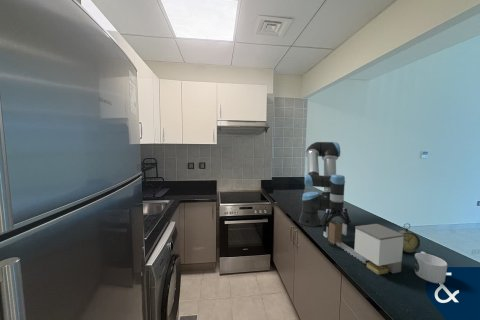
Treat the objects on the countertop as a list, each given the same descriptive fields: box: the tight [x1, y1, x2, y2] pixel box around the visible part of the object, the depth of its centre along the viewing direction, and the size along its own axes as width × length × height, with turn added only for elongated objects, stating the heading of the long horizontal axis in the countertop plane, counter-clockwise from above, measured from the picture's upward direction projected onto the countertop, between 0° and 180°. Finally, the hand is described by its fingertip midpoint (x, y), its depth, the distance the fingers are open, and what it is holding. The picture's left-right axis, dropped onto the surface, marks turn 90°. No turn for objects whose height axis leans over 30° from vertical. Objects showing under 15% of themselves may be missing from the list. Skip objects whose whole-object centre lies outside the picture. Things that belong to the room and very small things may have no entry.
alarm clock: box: [398, 222, 421, 254], centre depth 109 cm, size 11×5×16 cm, turn 83°
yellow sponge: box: [366, 261, 389, 276], centre depth 93 cm, size 6×6×2 cm
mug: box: [414, 251, 448, 284], centre depth 90 cm, size 13×10×8 cm
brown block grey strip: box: [327, 220, 371, 265], centre depth 110 cm, size 25×5×12 cm, turn 16°
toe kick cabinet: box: [353, 223, 404, 274], centre depth 96 cm, size 13×14×18 cm
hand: (335, 235), depth 119 cm, fingers open, 13 cm apart
